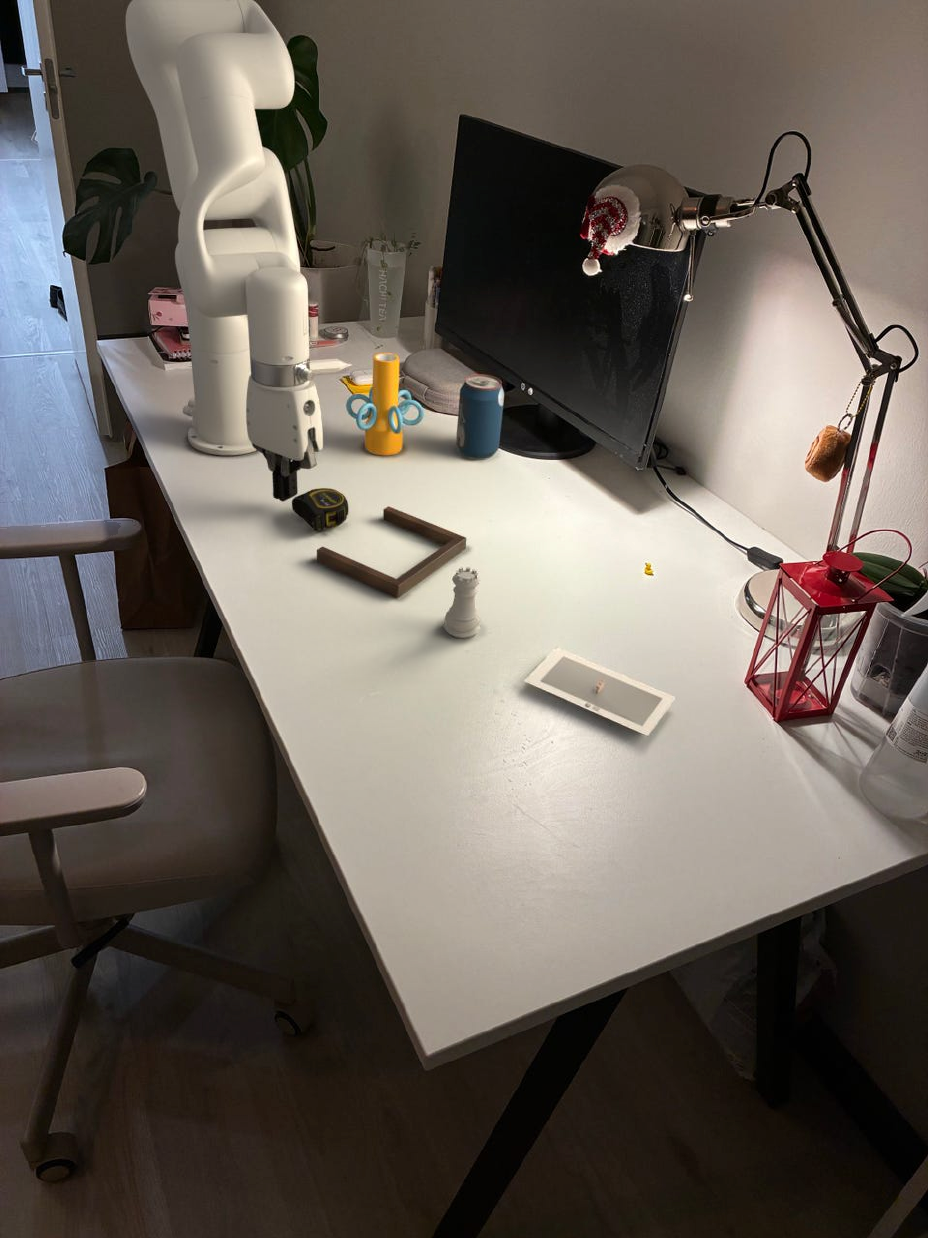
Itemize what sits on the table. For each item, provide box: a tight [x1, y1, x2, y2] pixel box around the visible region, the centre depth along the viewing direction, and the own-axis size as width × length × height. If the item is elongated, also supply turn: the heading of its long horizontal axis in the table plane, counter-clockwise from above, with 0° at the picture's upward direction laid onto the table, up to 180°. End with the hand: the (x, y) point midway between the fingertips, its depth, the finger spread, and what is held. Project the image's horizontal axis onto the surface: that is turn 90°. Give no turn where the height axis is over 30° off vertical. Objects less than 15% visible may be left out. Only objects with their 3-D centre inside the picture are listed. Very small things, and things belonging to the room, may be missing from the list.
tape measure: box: [291, 487, 349, 533], centre depth 133 cm, size 7×7×4 cm
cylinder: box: [345, 352, 425, 456], centre depth 150 cm, size 12×10×15 cm
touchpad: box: [523, 646, 677, 737], centre depth 107 cm, size 8×15×2 cm, turn 58°
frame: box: [316, 505, 467, 598], centre depth 128 cm, size 13×15×2 cm
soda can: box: [455, 373, 505, 461], centre depth 153 cm, size 7×7×12 cm
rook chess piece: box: [443, 566, 481, 639], centre depth 114 cm, size 4×4×8 cm
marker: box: [309, 358, 353, 375], centre depth 177 cm, size 3×2×16 cm
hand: (285, 496), depth 135 cm, fingers closed
